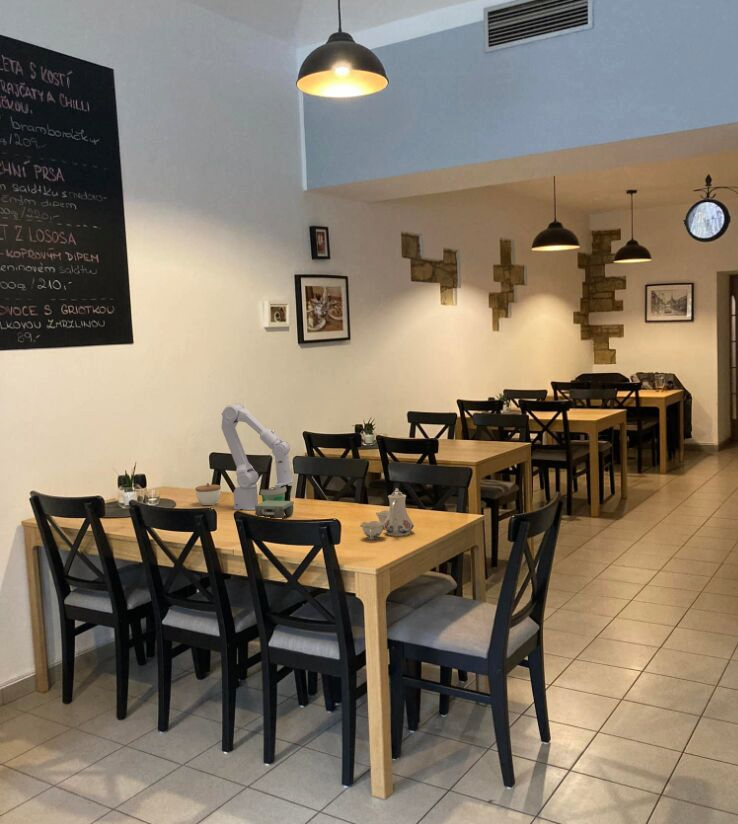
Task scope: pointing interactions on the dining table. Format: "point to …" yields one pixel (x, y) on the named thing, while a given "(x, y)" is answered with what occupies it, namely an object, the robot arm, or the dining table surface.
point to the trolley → (274, 508)
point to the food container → (273, 494)
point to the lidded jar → (208, 494)
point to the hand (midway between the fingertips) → (286, 503)
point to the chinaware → (390, 519)
